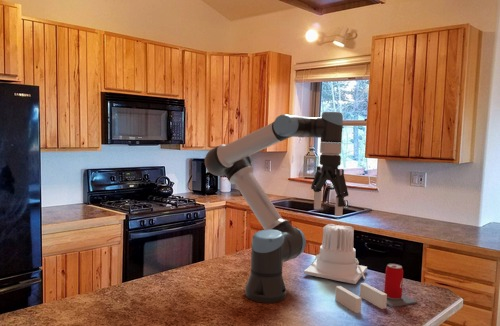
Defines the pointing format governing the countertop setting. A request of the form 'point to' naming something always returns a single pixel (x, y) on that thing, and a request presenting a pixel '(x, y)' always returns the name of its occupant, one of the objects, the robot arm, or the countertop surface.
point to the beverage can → (393, 281)
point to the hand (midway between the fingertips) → (327, 212)
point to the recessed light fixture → (337, 256)
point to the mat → (400, 301)
